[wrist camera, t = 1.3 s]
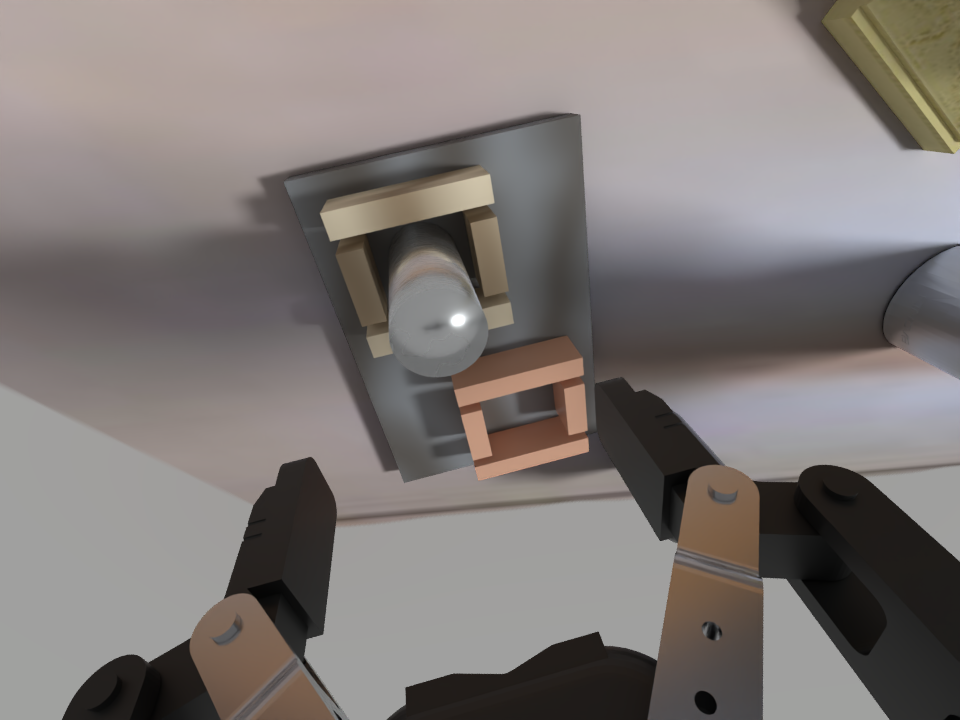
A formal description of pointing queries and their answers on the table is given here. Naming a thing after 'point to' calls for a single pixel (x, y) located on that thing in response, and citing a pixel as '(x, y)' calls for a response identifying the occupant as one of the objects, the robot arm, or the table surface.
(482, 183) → the mount board
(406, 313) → the peg
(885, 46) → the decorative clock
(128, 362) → the table surface
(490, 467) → the socket
